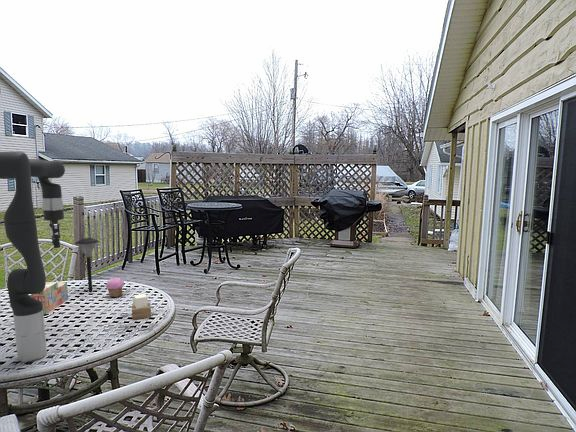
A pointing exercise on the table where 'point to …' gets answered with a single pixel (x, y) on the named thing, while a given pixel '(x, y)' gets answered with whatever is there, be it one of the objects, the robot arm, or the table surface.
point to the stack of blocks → (52, 295)
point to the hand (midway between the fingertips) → (56, 246)
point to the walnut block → (141, 312)
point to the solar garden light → (88, 255)
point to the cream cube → (140, 301)
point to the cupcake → (115, 287)
